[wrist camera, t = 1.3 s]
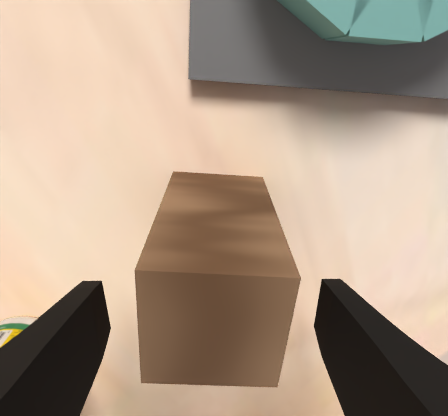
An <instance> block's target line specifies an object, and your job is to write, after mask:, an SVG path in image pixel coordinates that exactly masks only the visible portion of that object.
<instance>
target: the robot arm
mask: <svg viewBox="0 0 448 416" xmlns="http://www.w3.org/2000/svg"><path fill="white" fill-rule="evenodd" d="M314 328H315V332H316V336H317V340H318V344H319V348H320V352H321V355H322V358H323V361H324V364H325V366H326V369H327V371H328V374H329V377H330V379H331V382H332V384H333V387H334V389H335V392H336V395H337V397H338V400H339V402H340V405H341V407H342V410H343V412H344V415H345V416H448V365H447V364H445V363H444V362H442V361H441V360H439V359H438V358H437V357H435V356H434V355H432V354H431V353H430V352H428V351H427V350H426V349H424V348H423V347H422V346H420V345H419V344H418V343H416V342H415V341H414V340H412V339H411V338H410V337H408V336H407V335H406V334H405V333H403V332H402V331H401V330H400V329H398V328H397V327H396V326H395V325H393V324H392V323H391V322H390V321H389V320H387V319H386V318H385V317H384V316H383V315H381V314H380V313H379V312H378V311H377V310H376V309H374V308H373V307H372V306H371V305H370V304H369V303H368V302H366V301H365V300H364V299H363V298H362V297H361V296H360V295H358V294H357V293H356V292H355V291H354V290H353V289H352V288H350V287H349V286H348V285H347V284H346V283H345V282H343V281H342V280H341V279H322V281H321V287H320V293H319V299H318V305H317V311H316V317H315V323H314ZM110 329H111V327H110V321H109V316H108V311H107V306H106V300H105V295H104V290H103V285H102V281H82V282H81V283H80V284H78V285H77V286H76V287H75V288H74V289H72V290H71V291H70V292H69V293H68V294H66V295H65V296H64V297H63V298H62V299H61V300H59V301H58V302H57V303H56V304H55V305H53V306H52V307H51V308H50V309H49V310H47V311H46V312H45V313H44V314H43V315H41V316H40V317H39V318H38V319H36V320H35V321H34V322H33V323H32V324H30V325H29V326H28V327H27V328H25V329H24V330H23V331H21V332H20V333H19V334H18V335H16V336H15V337H14V338H12V339H11V340H10V341H8V342H7V343H6V344H4V345H3V346H2V347H1V348H0V416H80V413H81V411H82V409H83V406H84V404H85V401H86V399H87V396H88V394H89V391H90V389H91V387H92V384H93V382H94V379H95V377H96V374H97V372H98V369H99V367H100V364H101V361H102V359H103V355H104V352H105V348H106V345H107V341H108V337H109V333H110Z"/></svg>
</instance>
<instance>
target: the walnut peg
mask: <svg viewBox="0 0 448 416" xmlns="http://www.w3.org/2000/svg"><path fill="white" fill-rule="evenodd" d="M300 280H301V277H300V275H299V272H298V269H297V267H296V264H295V261H294V259H293V256H292V253H291V251H290V248H289V246H288V243H287V240H286V238H285V235H284V232H283V230H282V227H281V224H280V222H279V219H278V217H277V214H276V211H275V209H274V206H273V203H272V201H271V198H270V195H269V193H268V190H267V187H266V185H265V182H264V180H263V177H252V176H236V175H220V174H204V173H188V172H173V174H172V176H171V179H170V181H169V184H168V187H167V189H166V192H165V194H164V197H163V199H162V202H161V204H160V207H159V210H158V212H157V215H156V217H155V220H154V222H153V225H152V227H151V230H150V233H149V235H148V238H147V240H146V243H145V245H144V248H143V250H142V253H141V255H140V258H139V261H138V263H137V266H136V268H135V283H136V301H137V318H138V336H139V353H140V371H141V383H156V384H188V385H220V386H252V387H277V386H278V382H279V377H280V373H281V368H282V363H283V359H284V354H285V349H286V345H287V340H288V335H289V331H290V326H291V322H292V317H293V312H294V308H295V303H296V298H297V294H298V289H299V284H300Z"/></svg>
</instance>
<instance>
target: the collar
mask: <svg viewBox="0 0 448 416" xmlns="http://www.w3.org/2000/svg"><path fill="white" fill-rule="evenodd" d="M188 79H194V80H207V81H220V82H233V83H246V84H259V85H272V86H285V87H298V88H311V89H324V90H337V91H351V92H364V93H377V94H390V95H403V96H416V97H429V98H442V99H448V0H190V34H189V78H188Z"/></svg>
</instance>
